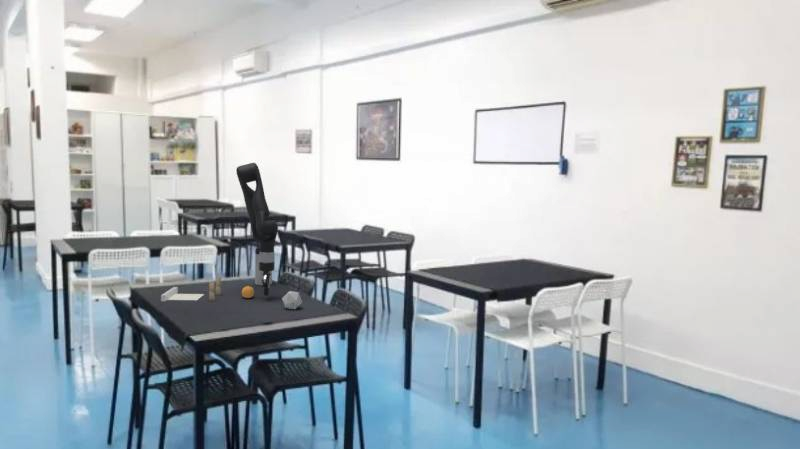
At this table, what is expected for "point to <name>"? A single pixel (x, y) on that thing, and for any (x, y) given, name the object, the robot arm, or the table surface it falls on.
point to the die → (292, 300)
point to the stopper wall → (169, 294)
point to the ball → (247, 292)
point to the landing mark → (186, 297)
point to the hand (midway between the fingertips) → (266, 295)
